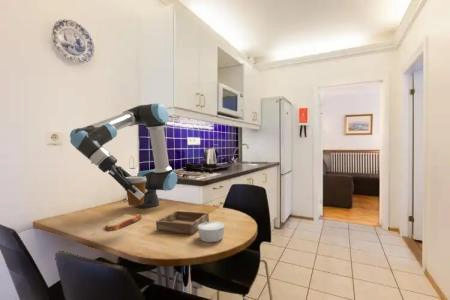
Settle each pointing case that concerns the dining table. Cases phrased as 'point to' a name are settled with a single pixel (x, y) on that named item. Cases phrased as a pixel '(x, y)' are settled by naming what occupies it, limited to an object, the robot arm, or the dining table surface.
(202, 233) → the ramekin
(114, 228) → the bread slice
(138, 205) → the robot arm
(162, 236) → the dining table surface
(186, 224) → the open wooden box
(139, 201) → the disposable coffee cup
